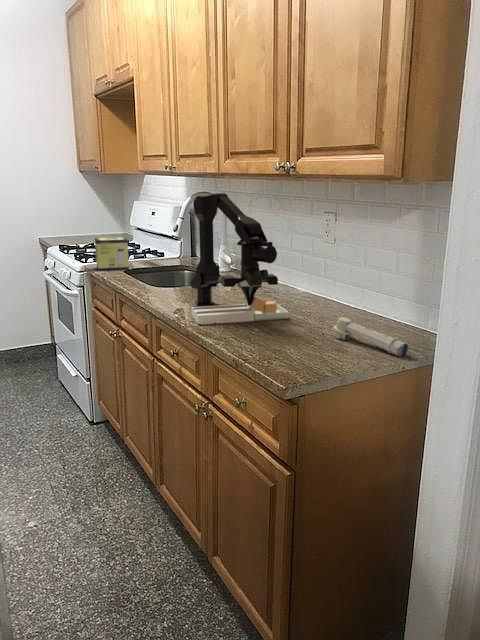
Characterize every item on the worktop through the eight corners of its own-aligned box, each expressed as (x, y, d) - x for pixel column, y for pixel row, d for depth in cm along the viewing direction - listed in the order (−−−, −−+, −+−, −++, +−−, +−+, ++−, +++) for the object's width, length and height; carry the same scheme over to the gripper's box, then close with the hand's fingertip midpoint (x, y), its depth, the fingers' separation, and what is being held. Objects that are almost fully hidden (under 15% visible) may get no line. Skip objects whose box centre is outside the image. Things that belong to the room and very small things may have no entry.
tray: (245, 312, 195) (245, 306, 194) (277, 310, 198) (277, 304, 197) (255, 320, 184) (255, 314, 183) (289, 318, 187) (289, 312, 186)
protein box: (96, 268, 284) (94, 237, 280) (126, 266, 289) (125, 236, 285) (98, 271, 274) (96, 240, 270) (129, 269, 279) (128, 239, 275)
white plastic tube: (399, 345, 146) (331, 314, 164) (394, 367, 149) (328, 334, 167) (411, 341, 149) (343, 311, 167) (406, 363, 152) (340, 331, 170)
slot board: (191, 315, 190) (191, 305, 189) (244, 312, 195) (244, 302, 194) (198, 324, 179) (198, 313, 178) (254, 320, 184) (254, 310, 183)
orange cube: (262, 301, 191) (273, 301, 192) (261, 313, 192) (272, 312, 193) (265, 304, 187) (276, 303, 188) (265, 315, 188) (276, 315, 189)
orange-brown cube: (248, 305, 191) (252, 295, 190) (258, 309, 192) (262, 299, 191) (251, 308, 187) (255, 297, 186) (261, 312, 188) (266, 301, 188)
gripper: (228, 264, 174) (228, 312, 178) (283, 262, 179) (282, 309, 183) (220, 259, 185) (220, 304, 189) (273, 257, 189) (272, 301, 193)
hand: (249, 305), depth 188 cm, fingers closed
